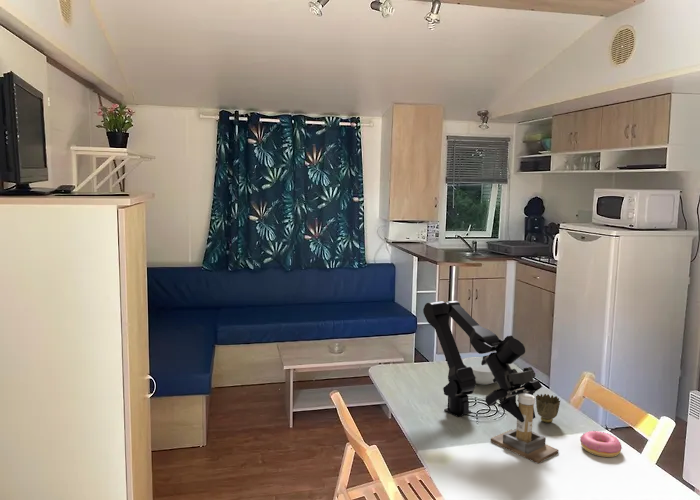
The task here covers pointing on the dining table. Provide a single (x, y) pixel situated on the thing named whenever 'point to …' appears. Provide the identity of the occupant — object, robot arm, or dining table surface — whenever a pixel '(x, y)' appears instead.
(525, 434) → the sprinkles bottle
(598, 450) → the doughnut
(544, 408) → the cup
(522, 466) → the dining table surface
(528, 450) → the socket board
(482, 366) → the cereal bowl
